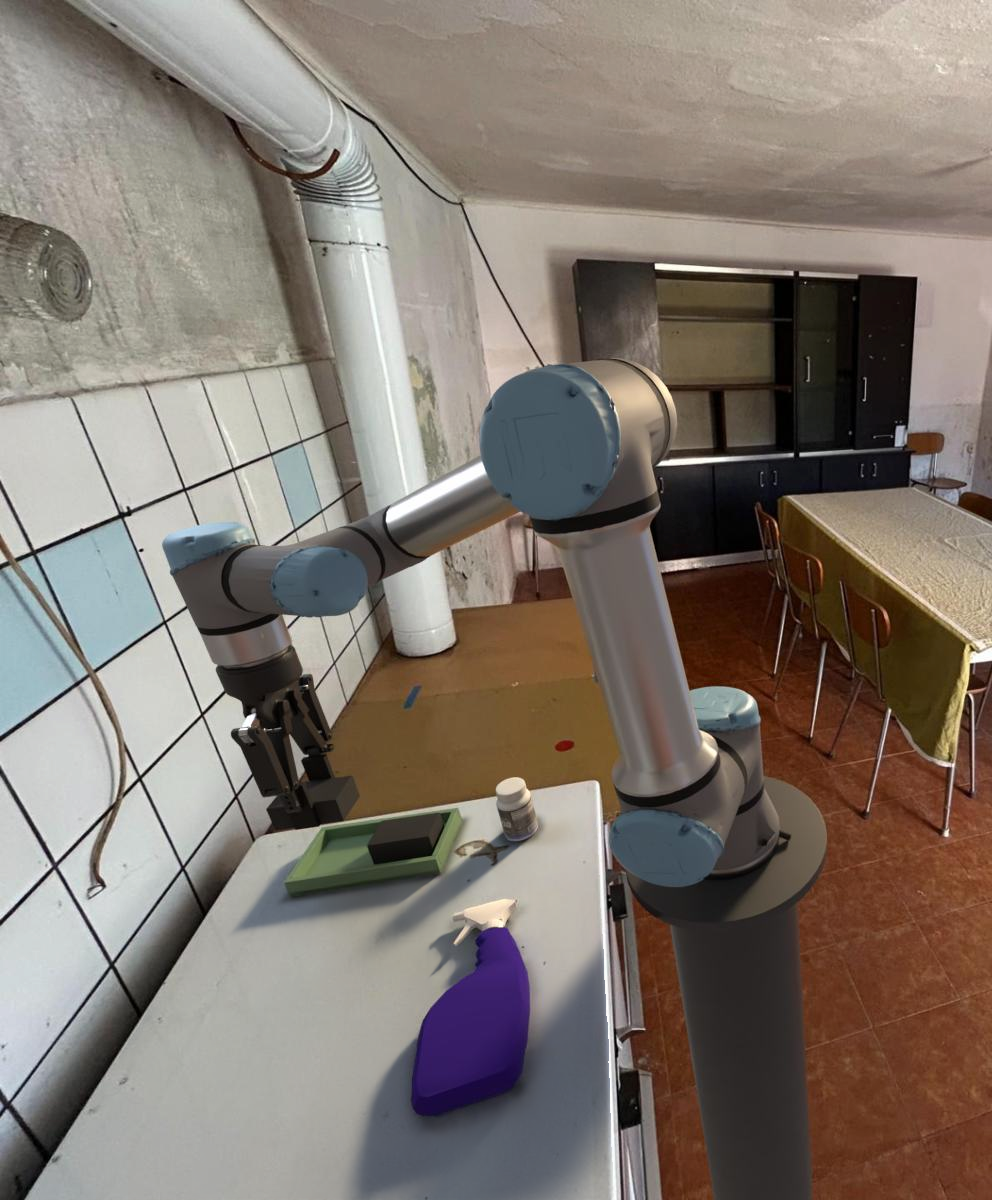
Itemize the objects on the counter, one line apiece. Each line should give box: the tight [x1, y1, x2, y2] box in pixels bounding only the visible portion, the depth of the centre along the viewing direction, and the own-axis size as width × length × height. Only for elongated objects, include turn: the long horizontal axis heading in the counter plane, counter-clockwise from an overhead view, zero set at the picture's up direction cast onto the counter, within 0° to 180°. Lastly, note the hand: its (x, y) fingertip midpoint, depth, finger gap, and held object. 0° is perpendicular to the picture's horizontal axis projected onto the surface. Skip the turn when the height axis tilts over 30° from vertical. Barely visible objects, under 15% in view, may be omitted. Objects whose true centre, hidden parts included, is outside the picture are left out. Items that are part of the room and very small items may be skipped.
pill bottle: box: [495, 776, 539, 842], centre depth 96 cm, size 5×5×8 cm
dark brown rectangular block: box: [265, 775, 361, 832], centre depth 85 cm, size 8×5×4 cm, turn 101°
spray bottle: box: [410, 898, 531, 1118], centre depth 73 cm, size 3×11×24 cm
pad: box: [367, 812, 445, 865], centre depth 94 cm, size 8×5×4 cm, turn 100°
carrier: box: [283, 807, 463, 898], centre depth 94 cm, size 19×11×3 cm, turn 100°
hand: (319, 810), depth 86 cm, fingers closed on dark brown rectangular block, 5 cm apart
